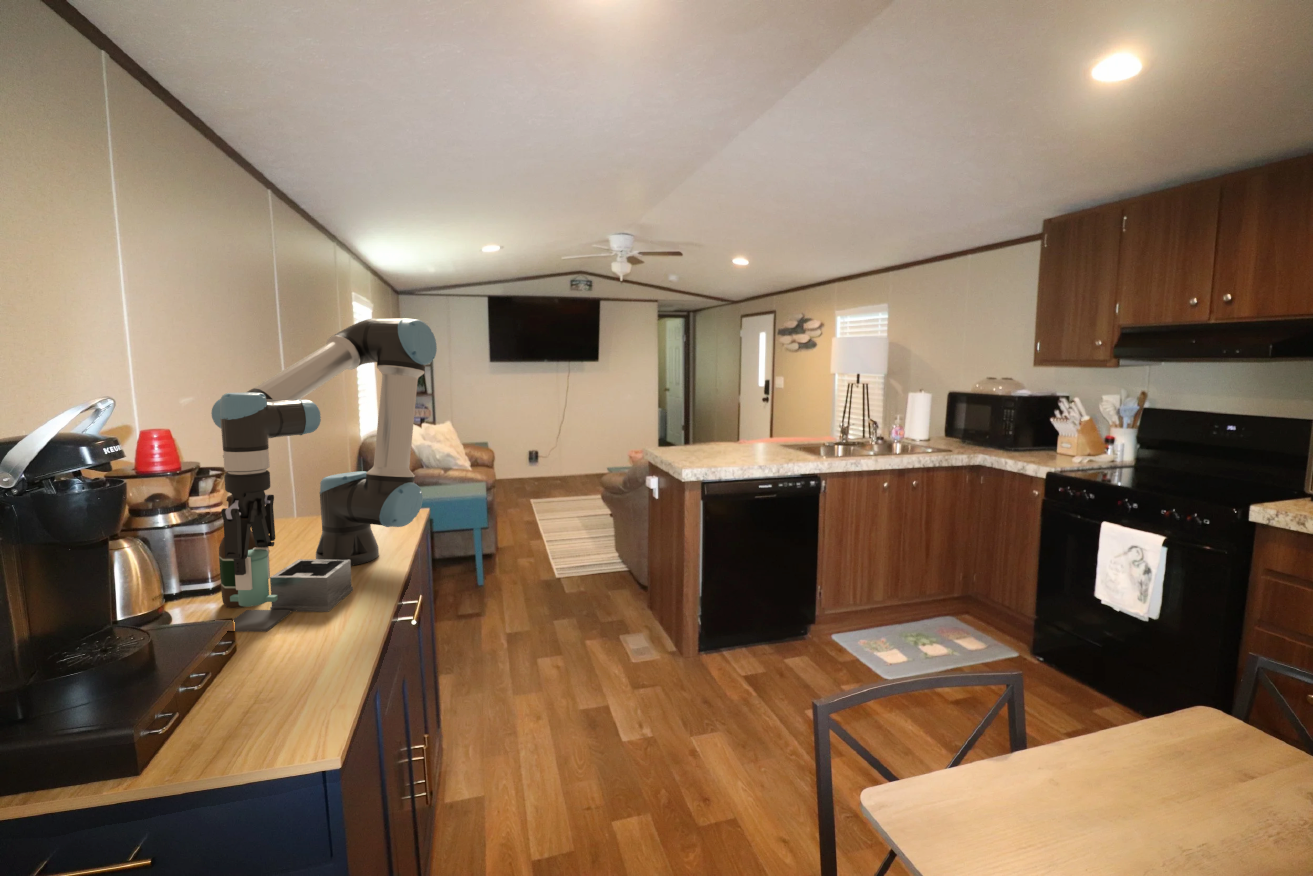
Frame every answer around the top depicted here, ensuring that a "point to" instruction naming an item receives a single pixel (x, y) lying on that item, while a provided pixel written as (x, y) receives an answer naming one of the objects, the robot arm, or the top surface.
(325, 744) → the top surface
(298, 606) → the grey storage bin
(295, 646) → the top surface
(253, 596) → the green upright cylinder
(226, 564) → the beer bottle
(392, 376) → the robot arm
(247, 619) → the pad
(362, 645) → the top surface
